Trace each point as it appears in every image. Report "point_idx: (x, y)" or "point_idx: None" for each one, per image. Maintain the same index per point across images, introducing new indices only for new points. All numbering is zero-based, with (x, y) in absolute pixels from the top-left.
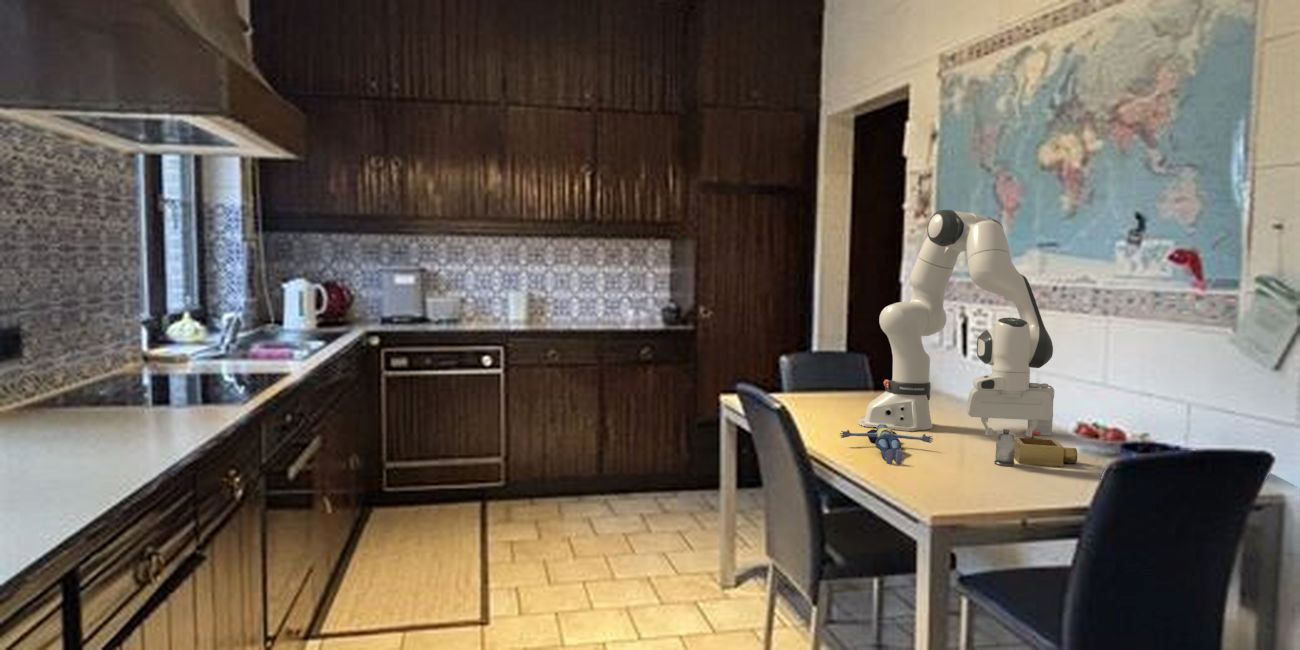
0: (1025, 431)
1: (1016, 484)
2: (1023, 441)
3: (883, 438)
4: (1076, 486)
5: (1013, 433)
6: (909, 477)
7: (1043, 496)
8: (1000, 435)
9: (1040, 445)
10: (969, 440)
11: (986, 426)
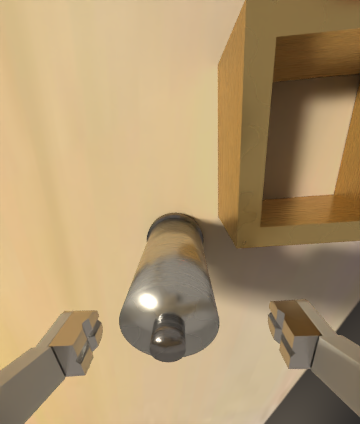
0: (286, 337)
1: (184, 381)
2: (295, 47)
3: None
4: None
5: (212, 310)
6: None
7: (216, 419)
8: (141, 343)
9: (329, 233)
10: None
11: (39, 397)
